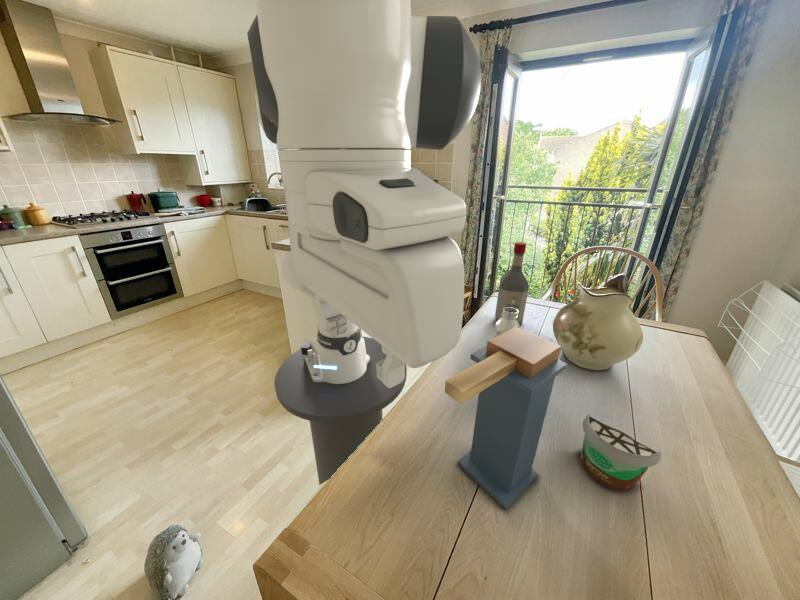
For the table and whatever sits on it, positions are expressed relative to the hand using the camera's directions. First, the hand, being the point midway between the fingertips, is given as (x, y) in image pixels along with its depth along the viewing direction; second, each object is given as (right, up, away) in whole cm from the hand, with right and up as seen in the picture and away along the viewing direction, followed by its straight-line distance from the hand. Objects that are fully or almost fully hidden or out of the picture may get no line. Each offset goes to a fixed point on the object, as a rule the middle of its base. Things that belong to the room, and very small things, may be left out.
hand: (360, 353), depth 28 cm
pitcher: (+61, -13, +67) cm, 91 cm away
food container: (+42, -29, +31) cm, 60 cm away
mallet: (+18, -6, +18) cm, 27 cm away
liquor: (+44, -4, +87) cm, 98 cm away
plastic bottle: (+32, -16, +59) cm, 69 cm away
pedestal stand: (+22, -28, +32) cm, 48 cm away
